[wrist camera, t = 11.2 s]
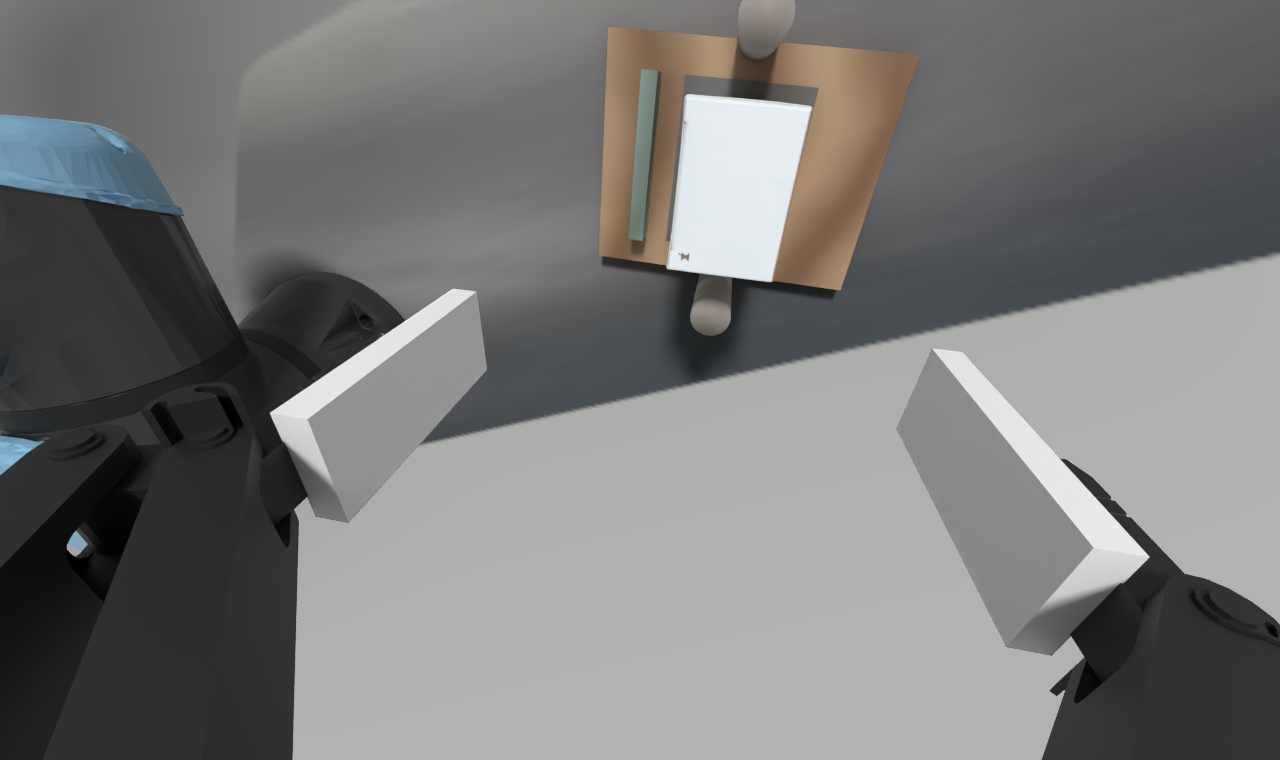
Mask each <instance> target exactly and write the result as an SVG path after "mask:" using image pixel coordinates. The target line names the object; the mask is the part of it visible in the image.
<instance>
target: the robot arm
mask: <svg viewBox="0 0 1280 760" xmlns="http://www.w3.org/2000/svg"><path fill="white" fill-rule="evenodd" d="M181 216H184V215H183V211H182V209H181V208H180V207H178V206H176V205H175V204H174V203H173V201H172V199H171V198H170V196H169V194H168V193H167V191H166V189H165V187H164V186H163V184H162V183H161V181H160V179H159V177H158V176H157V174H156V172H155V170H154V169H153V167H152V166H151V164H150V162H149V160H148V159H147V158H146V156H145V154H144V153H143V152H142V150H141V149H140V148H139V147H138V146H137V145H135V144H134V143H133V142H132V141H131V140H129V139H128V138H126V137H125V136H123V135H121V134H120V133H117V132H115V131H113V130H111V129H108V128H105V127H102V126H99V125H95V124H90V123H83V122H74V121H66V120H56V119H45V118H34V117H22V116H11V115H0V760H292V754H293V718H294V680H295V679H294V677H295V641H296V604H297V603H296V602H297V567H298V566H297V565H298V564H297V563H298V530H299V521H298V518H297V515H296V513H295V511H294V509H295V508H296V507H297V506H298V505H299V504H300V503H301V502H302V501H303V500H304V499H305V498H306V497H308V500H309V502H310V504H311V507H312V509H313V511H314V513H315V516H316V517H320V518H326V519H331V520H336V521H342V522H347V523H349V522H350V521H351V519H352V518H353V517H354V516H355V515H356V514H357V513H358V512H359V510H360V509H361V508H362V507H363V506H364V505H365V504H366V503H367V502H368V501H369V500H370V498H371V497H372V496H373V495H374V494H375V493H376V492H377V490H379V488H380V487H381V486H382V485H383V484H384V483H385V482H386V481H387V480H388V478H389V477H390V476H391V475H392V474H393V473H394V472H395V471H396V470H397V469H398V467H399V466H400V465H401V464H402V463H403V462H404V461H405V460H406V458H408V456H409V455H410V454H411V453H412V452H413V451H414V450H415V449H416V448H417V446H418V445H419V444H420V443H421V442H422V441H423V440H424V439H425V438H426V437H427V435H428V434H429V433H430V432H431V431H432V430H433V429H434V428H435V427H436V425H437V424H438V423H439V422H440V421H441V420H442V419H443V418H444V417H445V416H446V414H447V413H448V412H449V411H450V410H451V409H452V408H453V407H454V406H455V404H456V403H457V402H458V401H459V400H460V399H461V398H462V397H463V396H464V395H465V393H466V392H467V391H468V390H469V389H470V388H471V387H472V386H473V385H474V383H475V382H476V381H477V380H478V379H479V378H480V377H481V376H482V375H483V373H484V372H485V371H486V370H487V367H486V359H485V352H484V344H483V336H482V329H481V321H480V314H479V306H478V299H477V292H475V291H467V290H459V289H452V290H450V291H449V292H447V293H446V294H444V295H443V296H441V297H440V298H438V299H437V300H435V301H434V302H433V303H431V304H430V305H428V306H427V307H425V308H424V309H422V310H421V311H419V312H418V313H416V314H415V315H413V316H412V317H410V318H409V319H407V320H406V321H404V320H403V319H402V317H401V316H400V315H399V314H398V313H397V311H396V310H395V309H394V308H393V307H392V306H391V305H390V304H389V303H388V302H387V301H385V300H384V299H383V298H382V297H381V296H379V295H378V294H377V293H375V292H374V291H372V290H371V289H369V288H368V287H366V286H364V285H363V284H361V283H359V282H357V281H355V280H352V279H350V278H347V277H345V276H341V275H338V274H333V273H326V272H313V273H308V274H304V275H301V276H299V277H296V278H294V279H291V280H289V281H286V282H284V283H282V284H280V285H278V286H277V287H275V288H274V289H273V290H271V291H270V292H269V293H268V295H267V296H266V297H265V299H264V300H263V301H261V302H260V303H259V304H258V305H257V306H256V307H255V308H254V309H253V310H252V311H251V312H250V313H249V314H248V315H247V316H246V317H245V318H244V319H243V320H242V321H241V322H240V323H239V324H238V325H237V324H236V323H235V321H234V319H233V317H232V315H231V313H230V311H229V309H228V307H227V305H226V303H225V301H224V299H223V297H222V296H221V294H220V292H219V290H218V288H217V286H216V284H215V282H214V280H213V278H212V276H211V274H210V272H209V270H208V268H207V267H206V265H205V263H204V261H203V259H202V257H201V255H200V253H199V251H198V249H197V247H196V245H195V243H194V241H193V239H192V238H191V236H190V234H189V232H188V230H187V228H186V226H185V224H184V222H183V220H182V218H181ZM897 431H898V433H899V435H900V437H901V439H902V441H903V443H904V445H905V447H906V449H907V451H908V453H909V455H910V457H911V458H912V461H913V463H914V465H915V467H916V468H917V471H918V472H919V474H920V477H921V479H922V481H923V483H924V484H925V487H926V488H927V490H928V492H929V494H930V496H931V498H932V500H933V502H934V504H935V506H936V508H937V510H938V512H939V514H940V516H941V518H942V520H943V522H944V524H945V526H946V528H947V530H948V532H949V534H950V536H951V538H952V540H953V542H954V544H955V546H956V548H957V550H958V552H959V554H960V556H961V558H962V560H963V562H964V564H965V566H966V568H967V570H968V572H969V574H970V576H971V577H972V580H973V582H974V584H975V586H976V588H977V590H978V592H979V594H980V596H981V598H982V600H983V602H984V604H985V606H986V608H987V610H988V612H989V614H990V615H991V617H992V620H993V622H994V624H995V626H996V627H997V629H998V631H999V633H1000V635H1001V637H1002V639H1003V641H1004V643H1005V645H1006V647H1009V648H1014V649H1020V650H1025V651H1031V652H1035V653H1041V654H1046V655H1051V656H1052V655H1053V654H1054V653H1055V652H1056V651H1057V650H1058V649H1059V648H1060V647H1061V646H1062V645H1063V644H1064V643H1065V642H1066V641H1067V640H1068V639H1069V638H1070V637H1071V636H1072V638H1073V639H1074V641H1075V643H1076V644H1077V646H1078V647H1079V649H1080V650H1081V652H1082V654H1083V655H1084V658H1083V659H1082V660H1081V661H1080V662H1079V663H1078V664H1077V665H1076V666H1075V667H1074V668H1073V669H1071V670H1070V671H1069V672H1068V673H1067V674H1066V675H1065V676H1064V677H1063V678H1062V679H1061V680H1060V681H1059V682H1058V683H1057V684H1055V685H1054V687H1053V688H1052V689H1051V690H1050V692H1052V693H1053V694H1055V695H1056V696H1057V695H1059V694H1060V693H1061V692H1062V691H1063V690H1065V693H1064V696H1063V699H1062V702H1061V705H1060V708H1059V711H1058V714H1057V717H1056V720H1055V722H1054V725H1053V728H1052V731H1051V734H1050V737H1049V740H1048V743H1047V746H1046V749H1045V752H1044V755H1043V758H1042V760H1280V625H1279V623H1278V622H1277V621H1276V620H1275V619H1274V618H1273V617H1271V616H1270V615H1268V614H1267V613H1266V612H1265V611H1263V610H1262V609H1261V608H1259V607H1258V606H1257V605H1255V604H1254V603H1253V602H1251V601H1249V600H1248V599H1246V598H1244V597H1242V596H1241V595H1239V594H1237V593H1236V592H1234V591H1232V590H1230V589H1229V588H1226V587H1224V586H1221V585H1219V584H1217V583H1214V582H1212V581H1210V580H1207V579H1204V578H1200V577H1196V576H1191V575H1187V574H1184V573H1183V572H1182V571H1181V569H1179V567H1178V566H1177V565H1176V564H1175V563H1174V562H1173V561H1172V560H1171V559H1170V558H1169V557H1168V556H1167V555H1166V554H1165V553H1164V552H1163V551H1162V550H1161V549H1160V548H1159V547H1158V545H1157V544H1156V543H1155V542H1154V541H1153V540H1151V538H1150V537H1149V536H1148V535H1147V534H1146V533H1145V532H1144V531H1143V530H1142V529H1141V528H1140V527H1139V526H1138V525H1137V524H1136V523H1135V522H1134V520H1133V519H1132V518H1130V517H1126V512H1125V511H1124V510H1123V509H1122V508H1121V507H1120V506H1119V505H1118V504H1117V503H1116V502H1115V501H1112V500H1111V496H1110V495H1109V494H1108V493H1107V492H1106V491H1105V490H1104V489H1103V488H1102V487H1101V486H1100V485H1099V484H1098V483H1097V482H1096V481H1095V480H1094V479H1093V478H1092V477H1091V476H1089V475H1088V474H1086V473H1085V472H1084V471H1082V470H1080V469H1079V468H1078V467H1076V466H1075V465H1073V464H1072V463H1070V462H1069V461H1068V460H1066V459H1059V457H1058V456H1057V455H1056V454H1055V453H1054V452H1053V451H1052V450H1051V449H1050V448H1049V447H1048V445H1047V444H1046V443H1045V442H1044V441H1043V440H1042V439H1041V438H1040V437H1039V436H1038V435H1037V433H1035V431H1034V430H1033V429H1032V428H1031V427H1030V426H1029V425H1028V424H1027V423H1026V421H1025V420H1024V419H1023V418H1022V417H1021V416H1020V415H1019V414H1018V413H1017V412H1016V411H1015V410H1014V408H1013V407H1012V406H1011V405H1010V404H1009V403H1008V402H1007V401H1006V400H1005V399H1004V398H1003V396H1002V395H1001V394H1000V393H999V392H998V391H997V390H996V389H995V388H994V387H993V386H992V384H991V383H990V382H989V381H988V380H987V379H986V378H985V377H984V376H983V375H982V374H981V373H980V371H979V370H978V369H977V368H976V367H975V366H974V365H973V364H972V363H971V362H970V360H969V359H968V358H967V357H966V356H965V355H964V354H963V353H962V352H957V351H948V350H940V349H932V350H931V352H930V354H929V357H928V359H927V361H926V364H925V366H924V368H923V370H922V372H921V374H920V377H919V379H918V381H917V384H916V386H915V388H914V390H913V392H912V395H911V397H910V399H909V402H908V404H907V406H906V408H905V410H904V413H903V415H902V417H901V420H900V422H899V424H898V426H897ZM67 544H70V545H72V546H74V547H77V548H79V549H82V550H83V551H82V552H81V553H80V554H79V555H77V556H76V557H75V556H73V555H72V554H71V553H70V552H69V551H68V550H67Z"/></svg>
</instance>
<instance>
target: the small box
mask: <svg viewBox="0 0 1280 760" xmlns="http://www.w3.org/2000/svg"><path fill="white" fill-rule="evenodd" d="M812 110H813V109H812V107H811V106H807V105H799V104H792V103H784V102H775V101H765V100H755V99H744V98H732V97H718V96H705V95H694V94H687V95H686V96H685V98H684V109H683V126H682V137H681V148H680V158H679V168H678V177H677V187H676V196H675V205H674V214H673V223H672V232H671V239H670V246H669V252H668V259H667V264H666V268H667V269H669V270H677V271H685V272H693V273H701V274H709V275H717V276H725V277H733V278H740V279H748V280H756V281H764V282H773V279H774V275H775V270H776V266H777V261H778V257H779V253H780V249H781V244H782V240H783V236H784V231H785V227H786V223H787V218H788V214H789V210H790V205H791V201H792V197H793V192H794V188H795V184H796V179H797V175H798V170H799V166H800V162H801V157H802V153H803V149H804V145H805V140H806V136H807V131H808V127H809V123H810V118H811V114H812Z"/></svg>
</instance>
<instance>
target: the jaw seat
mask: <svg viewBox="0 0 1280 760" xmlns="http://www.w3.org/2000/svg"><path fill="white" fill-rule="evenodd" d="M794 16H795V1H794V0H742V2H741V5H740V8H739V13H738V39H737V38H726V37H715V36H704V35H693V34H682V33H671V32H660V31H649V30H638V29H627V28H616V27H608V47H607V71H606V95H605V120H604V144H603V168H602V192H601V216H600V241H599V256H606V257H613V258H620V259H627V260H633V261H640V262H647V263H654V264H661V265H666V264H667V259H668V252H669V246H670V239H671V232H672V223H673V214H674V205H675V196H676V187H677V177H678V168H679V158H680V148H681V137H682V126H683V109H684V98H685V96H686V95H687V94H694V95H705V96H718V97H732V98H744V99H755V100H765V101H775V102H784V103H792V104H799V105H807V106H811V107H812V109H813V110H812V114H811V118H810V123H809V127H808V131H807V136H806V140H805V145H804V149H803V153H802V157H801V162H800V166H799V170H798V175H797V179H796V184H795V188H794V192H793V197H792V201H791V205H790V210H789V214H788V218H787V223H786V227H785V231H784V236H783V240H782V244H781V249H780V253H779V257H778V261H777V266H776V270H775V275H774V279H773V281H779V282H785V283H792V284H799V285H806V286H813V287H820V288H827V289H834V290H841V287H842V284H843V281H844V278H845V275H846V272H847V269H848V266H849V263H850V260H851V257H852V254H853V251H854V248H855V245H856V242H857V239H858V236H859V233H860V230H861V227H862V225H863V222H864V219H865V216H866V213H867V210H868V207H869V204H870V201H871V198H872V195H873V192H874V189H875V186H876V183H877V180H878V177H879V174H880V171H881V168H882V165H883V162H884V159H885V156H886V153H887V150H888V147H889V144H890V141H891V138H892V135H893V132H894V129H895V126H896V124H897V121H898V118H899V115H900V112H901V109H902V106H903V103H904V100H905V97H906V94H907V91H908V88H909V85H910V82H911V79H912V76H913V73H914V70H915V67H916V64H917V61H918V58H919V55H915V54H903V53H892V52H881V51H870V50H859V49H848V48H837V47H826V46H815V45H804V44H793V43H782V42H781V41H782V40H783V39H784V37H785V36H786V35H787V33H788V32H789V30H790V28H791V26H792V23H793V20H794ZM731 294H732V277H725V276H717V275H709V274H701V273H700V274H699V279H698V283H697V288H696V292H695V297H694V301H693V306H692V310H691V315H690V320H691V323H692V326H693V327H694V328H695V330H696V331H698V332H699V333H701V334H703V335H707V336H713V335H718V334H720V333H722V332H723V331H725V330H726V328H727V327H728V326H729V323H730V319H731Z"/></svg>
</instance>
